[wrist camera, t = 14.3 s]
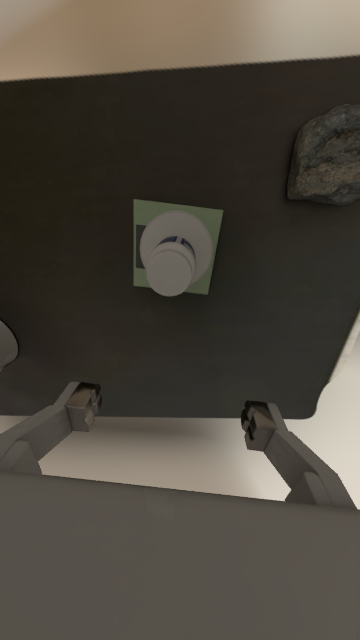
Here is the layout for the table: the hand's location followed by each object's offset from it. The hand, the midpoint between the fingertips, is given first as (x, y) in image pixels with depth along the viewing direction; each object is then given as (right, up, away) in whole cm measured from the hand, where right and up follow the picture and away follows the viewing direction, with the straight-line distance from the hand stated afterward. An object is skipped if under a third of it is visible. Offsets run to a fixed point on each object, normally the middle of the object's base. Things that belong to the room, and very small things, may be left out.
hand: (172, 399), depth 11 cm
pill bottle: (0, +14, +18) cm, 23 cm away
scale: (0, +16, +20) cm, 25 cm away
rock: (+20, +24, +15) cm, 34 cm away
